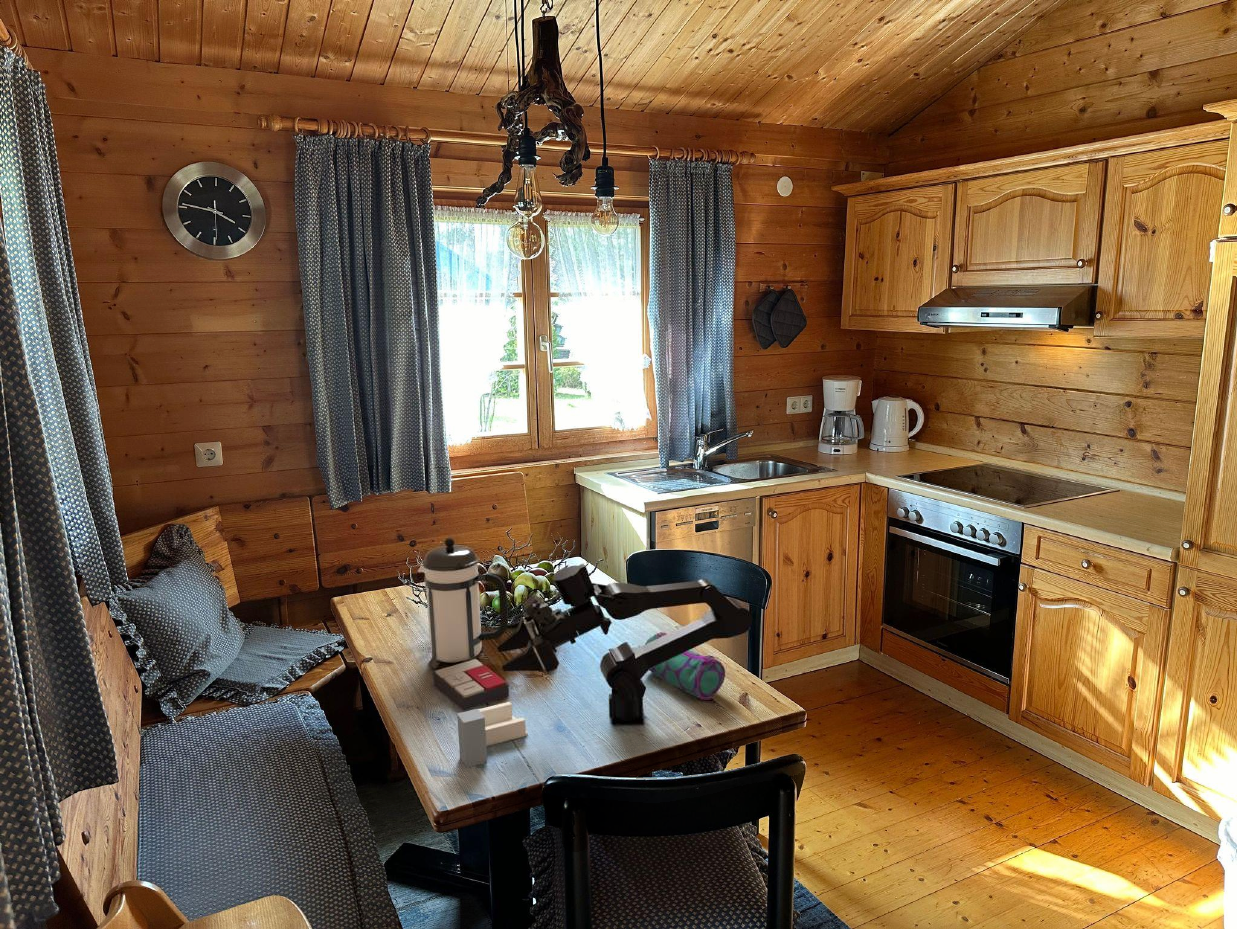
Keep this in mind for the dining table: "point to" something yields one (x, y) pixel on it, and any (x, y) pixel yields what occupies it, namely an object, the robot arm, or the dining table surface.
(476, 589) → the coffee press
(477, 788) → the dining table surface
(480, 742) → the grey rectangular prism
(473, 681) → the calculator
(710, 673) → the pencil case
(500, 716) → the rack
